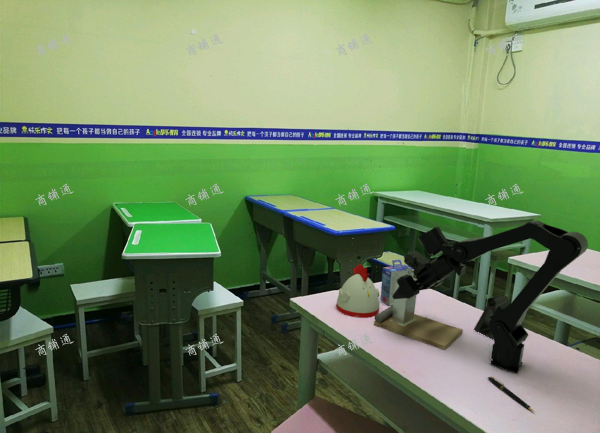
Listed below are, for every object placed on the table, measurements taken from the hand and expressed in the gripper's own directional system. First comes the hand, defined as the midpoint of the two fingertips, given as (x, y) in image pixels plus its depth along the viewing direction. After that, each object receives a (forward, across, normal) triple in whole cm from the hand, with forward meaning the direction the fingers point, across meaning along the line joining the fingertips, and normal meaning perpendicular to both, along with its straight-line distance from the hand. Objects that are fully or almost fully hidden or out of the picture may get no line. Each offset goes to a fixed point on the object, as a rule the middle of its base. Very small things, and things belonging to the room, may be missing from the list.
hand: (401, 294), depth 138 cm
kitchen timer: (+17, +2, -4) cm, 17 cm away
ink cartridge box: (+14, -14, 0) cm, 20 cm away
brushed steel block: (+5, 0, +7) cm, 8 cm away
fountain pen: (-20, +14, +34) cm, 42 cm away
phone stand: (-10, -15, +23) cm, 29 cm away
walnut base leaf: (+2, 0, +11) cm, 11 cm away
